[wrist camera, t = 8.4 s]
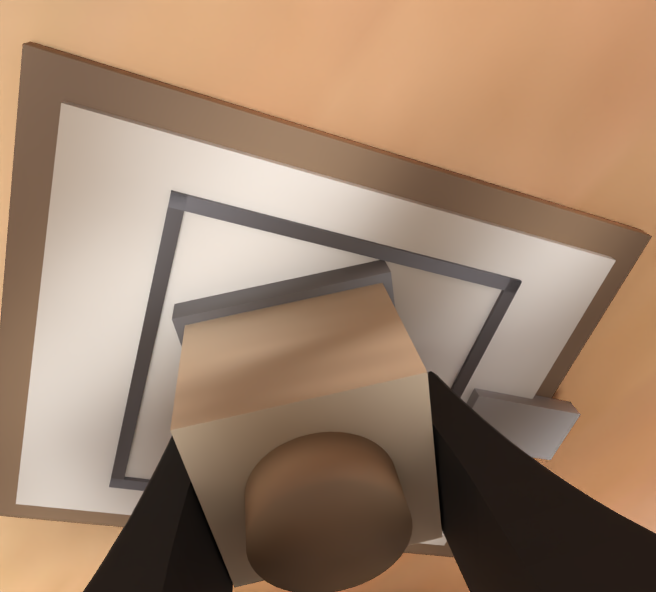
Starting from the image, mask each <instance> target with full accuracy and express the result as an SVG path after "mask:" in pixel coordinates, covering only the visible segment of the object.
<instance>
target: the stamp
mask: <svg viewBox="0 0 656 592" xmlns="http://www.w3.org/2000/svg"><path fill="white" fill-rule="evenodd" d="M172 321H173V324H174V327H175V330H176V332H177V335H178V338H179V341H180V344H181V346H182V349H181V356H180V363H179V370H178V378H177V385H176V392H175V399H174V406H173V413H172V421H171V428H170V431H171V434H172V436H173V439H174V441H175V443H176V446H177V448H178V451H179V453H180V456H181V458H182V460H183V463H184V465H185V468H186V470H187V473H188V475H189V477H190V480H191V482H192V485H193V487H194V490H195V492H196V495H197V497H198V499H199V502H200V504H201V507H202V509H203V512H204V514H205V516H206V519H207V521H208V524H209V526H210V529H211V531H212V533H213V536H214V538H215V541H216V543H217V546H218V548H219V551H220V553H221V555H222V558H223V560H224V563H225V565H226V568H227V570H228V572H229V575H230V577H231V580H232V582H233V585H234V587H239V586H243V585H247V584H251V583H255V582H259V581H263V580H265V581H266V582H268V583H270V584H272V585H274V586H276V587H278V588H281V589H284V590H288V591H292V592H336V591H341V590H345V589H348V588H352V587H355V586H358V585H360V584H363V583H365V582H367V581H369V580H371V579H373V578H375V577H376V576H378V575H380V574H381V573H383V572H384V571H386V570H387V569H388V568H389V567H391V566H392V565H393V564H394V563H395V562H396V561H397V560H398V559H399V558H400V556H401V555H402V554H403V552H404V551H405V549H406V547H407V546H409V545H413V544H417V543H421V542H425V541H429V540H434V539H438V538H442V529H441V518H440V506H439V495H438V484H437V473H436V462H435V451H434V439H433V428H432V417H431V406H430V395H429V383H428V372H427V370H426V368H425V366H424V364H423V362H422V360H421V358H420V356H419V354H418V352H417V350H416V348H415V346H414V345H413V343H412V341H411V339H410V337H409V335H408V333H407V331H406V329H405V327H404V325H403V323H402V321H401V319H400V317H399V315H398V313H397V311H396V309H395V302H394V293H393V285H392V276H391V271H390V269H389V267H388V266H387V264H386V262H385V261H383V260H377V261H373V262H368V263H363V264H359V265H354V266H349V267H345V268H340V269H335V270H331V271H326V272H321V273H317V274H312V275H307V276H303V277H298V278H293V279H289V280H284V281H279V282H275V283H270V284H265V285H261V286H256V287H251V288H247V289H242V290H237V291H233V292H228V293H223V294H219V295H214V296H209V297H205V298H200V299H195V300H191V301H186V302H181V303H177V304H174V309H173V315H172Z"/></svg>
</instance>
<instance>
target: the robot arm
mask: <svg viewBox="0 0 656 592" xmlns="http://www.w3.org/2000/svg"><path fill="white" fill-rule="evenodd" d="M428 383H429V395H430V406H431V417H432V428H433V439H434V451H435V462H436V473H437V484H438V495H439V506H440V518H441V529H442V532H443V534H444V536H445V538H446V540H447V542H448V545H449V547H450V549H451V551H452V553H453V555H454V558H455V560H456V562H457V564H458V566H459V569H460V571H461V573H462V575H463V577H464V579H465V582H466V584H467V586H468V588H469V590H470V592H656V534H655V533H654V532H652V531H650V530H648V529H646V528H644V527H642V526H640V525H638V524H637V523H635V522H633V521H631V520H629V519H627V518H625V517H623V516H621V515H620V514H618V513H616V512H614V511H613V510H611V509H609V508H608V507H606V506H604V505H603V504H601V503H599V502H598V501H596V500H594V499H593V498H591V497H589V496H588V495H586V494H585V493H583V492H582V491H580V490H578V489H577V488H575V487H574V486H572V485H571V484H569V483H567V482H566V481H564V480H563V479H562V478H560V477H559V476H557V475H556V474H554V473H553V472H551V471H550V470H548V469H547V468H546V467H544V466H543V465H541V464H540V463H539V462H537V461H536V460H535V459H533V458H532V457H531V456H529V455H528V454H527V453H525V452H524V451H523V450H521V449H520V448H519V447H517V446H516V445H515V444H514V443H512V442H511V441H510V440H508V439H507V438H506V437H505V436H504V435H502V434H501V433H500V432H499V431H498V430H496V429H495V428H494V427H493V426H492V425H490V424H489V423H488V422H487V421H486V420H484V419H483V418H482V417H481V416H480V415H479V414H478V413H476V412H475V411H474V410H473V409H472V408H471V407H470V406H469V405H468V404H467V403H465V402H464V401H463V400H462V399H461V398H460V397H459V396H458V395H457V394H456V393H455V392H454V391H453V390H452V389H451V388H450V387H449V386H448V385H447V384H446V383H445V382H444V381H443V380H442V379H441V378H440V377H439V376H438V375H437V374H435V373H433V372H432V371H430V372H428ZM232 590H233V582H232V580H231V577H230V575H229V572H228V570H227V568H226V565H225V563H224V560H223V558H222V555H221V553H220V551H219V548H218V546H217V543H216V541H215V538H214V536H213V533H212V531H211V529H210V526H209V524H208V521H207V519H206V516H205V514H204V512H203V509H202V507H201V504H200V502H199V499H198V497H197V495H196V492H195V490H194V487H193V485H192V482H191V480H190V477H189V475H188V473H187V470H186V468H185V465H184V463H183V460H182V458H181V456H180V453H179V451H178V448H177V446H176V443H175V441H174V439H173V436H171V438H170V440H169V443H168V445H167V447H166V449H165V451H164V453H163V455H162V457H161V459H160V461H159V463H158V465H157V467H156V469H155V471H154V473H153V475H152V477H151V479H150V481H149V483H148V484H147V486H146V488H145V490H144V492H143V494H142V496H141V497H140V499H139V501H138V503H137V505H136V507H135V508H134V510H133V512H132V514H131V516H130V517H129V519H128V521H127V523H126V524H125V526H124V528H123V530H122V531H121V533H120V534H119V536H118V538H117V539H116V541H115V543H114V544H113V546H112V548H111V549H110V551H109V552H108V554H107V556H106V557H105V559H104V561H103V562H102V564H101V565H100V567H99V569H98V570H97V572H96V573H95V575H94V576H93V578H92V579H91V581H90V582H89V584H88V585H87V587H86V588H85V590H84V591H83V592H232Z"/></svg>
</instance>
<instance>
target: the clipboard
mask: <svg viewBox="0 0 656 592" xmlns="http://www.w3.org/2000/svg"><path fill="white" fill-rule="evenodd" d="M651 237H652V236H650V235H649V234H647V233H645V232H644V231H642V230H640V229H637V228H634V227H630V226H627V225H624V224H621V223H617V222H614V221H611V220H608V219H604V218H601V217H598V216H595V215H591V214H588V213H585V212H582V211H578V210H575V209H572V208H569V207H565V206H562V205H559V204H556V203H552V202H549V201H546V200H543V199H539V198H536V197H533V196H530V195H526V194H523V193H520V192H517V191H513V190H510V189H507V188H504V187H500V186H497V185H494V184H491V183H487V182H484V181H481V180H478V179H474V178H471V177H468V176H465V175H462V174H458V173H455V172H452V171H449V170H445V169H442V168H439V167H436V166H432V165H429V164H426V163H423V162H419V161H416V160H413V159H410V158H406V157H403V156H400V155H397V154H393V153H390V152H387V151H384V150H380V149H377V148H374V147H371V146H367V145H364V144H361V143H358V142H354V141H351V140H348V139H345V138H341V137H338V136H335V135H332V134H328V133H325V132H322V131H319V130H315V129H312V128H309V127H306V126H302V125H299V124H296V123H293V122H290V121H286V120H283V119H280V118H277V117H273V116H270V115H267V114H264V113H260V112H257V111H254V110H251V109H247V108H244V107H241V106H238V105H234V104H231V103H228V102H225V101H221V100H218V99H215V98H212V97H208V96H205V95H202V94H199V93H195V92H192V91H189V90H186V89H182V88H179V87H176V86H173V85H169V84H166V83H163V82H160V81H156V80H153V79H150V78H147V77H143V76H140V75H137V74H134V73H131V72H127V71H124V70H121V69H118V68H114V67H111V66H108V65H105V64H101V63H98V62H95V61H92V60H88V59H85V58H82V57H79V56H75V55H72V54H69V53H66V52H62V51H59V50H56V49H53V48H49V47H46V46H43V45H40V44H36V43H33V42H28V43H24V44H23V49H22V61H21V74H20V86H19V98H18V111H17V123H16V135H15V148H14V160H13V172H12V185H11V197H10V209H9V222H8V234H7V246H6V259H5V271H4V284H3V296H2V308H1V321H0V516H8V517H19V518H30V519H41V520H52V521H63V522H74V523H85V524H96V525H107V526H118V527H124V526H125V524H126V523H127V521H128V519H129V517H130V516H131V514H132V512H133V510H134V508H135V507H136V505H137V503H138V501H139V499H140V497H141V496H142V494H143V492H144V490H145V488H146V486H147V484H148V483H149V481H150V479H151V477H152V475H153V473H154V471H155V469H156V467H157V465H158V463H159V461H160V459H161V457H162V455H163V453H164V451H165V449H166V447H167V445H168V443H169V440H170V438H171V436H172V434H171V431H170V428H171V421H172V413H173V406H174V399H175V392H176V385H177V378H178V370H179V363H180V356H181V349H182V346H181V344H180V341H179V338H178V335H177V332H176V330H175V327H174V324H173V321H172V315H173V309H174V304H177V303H181V302H186V301H191V300H195V299H200V298H205V297H209V296H214V295H219V294H223V293H228V292H233V291H237V290H242V289H247V288H251V287H256V286H261V285H265V284H270V283H275V282H279V281H284V280H289V279H293V278H298V277H303V276H307V275H312V274H317V273H321V272H326V271H331V270H335V269H340V268H345V267H349V266H354V265H359V264H363V263H368V262H373V261H377V260H383V261H385V262H386V264H387V266H388V267H389V269H390V271H391V276H392V285H393V293H394V302H395V309H396V311H397V313H398V315H399V317H400V319H401V321H402V323H403V325H404V327H405V329H406V331H407V333H408V335H409V337H410V339H411V341H412V343H413V345H414V346H415V348H416V350H417V352H418V354H419V356H420V358H421V360H422V362H423V364H424V366H425V368H426V370H427V372H430V371H432V372H433V373H435V374H437V375H438V376H439V377H440V378H441V379H442V380H443V381H444V382H445V383H446V384H447V385H448V386H449V387H450V388H451V389H452V390H453V391H454V392H455V393H456V394H457V395H458V396H459V397H460V398H461V399H462V400H463V401H464V402H465V403H467V404H468V405H469V406H470V407H471V408H472V409H473V410H474V411H475V412H476V413H478V414H479V415H480V416H481V417H482V418H483V419H484V420H486V421H487V422H488V423H489V424H490V425H492V426H493V427H494V428H495V429H496V430H498V431H499V432H500V433H501V434H502V435H504V436H505V437H506V438H507V439H508V440H510V441H511V442H512V443H514V444H515V445H516V446H517V447H519V448H520V449H521V450H523V451H524V452H525V453H527V454H528V455H529V456H531V457H533V458H540V459H546V460H551V459H552V457H553V456H554V454H555V452H556V451H557V449H558V448H559V446H560V445H561V443H562V442H563V440H564V439H565V437H566V436H567V434H568V433H569V431H570V430H571V428H572V427H573V425H574V424H575V422H576V421H577V419H578V418H579V416H580V415H581V414H580V413H579V412H578V411H577V410H576V408H575V407H574V406H573V405H572V403H571V402H568V401H563V400H558V399H552V397H553V395H554V393H555V392H556V390H557V389H558V387H559V385H560V384H561V382H562V380H563V379H564V377H565V376H566V374H567V372H568V371H569V369H570V368H571V366H572V364H573V363H574V361H575V360H576V358H577V356H578V355H579V353H580V351H581V350H582V348H583V347H584V345H585V343H586V342H587V340H588V339H589V337H590V335H591V334H592V332H593V331H594V329H595V327H596V326H597V324H598V322H599V321H600V319H601V318H602V316H603V314H604V313H605V311H606V310H607V308H608V306H609V305H610V303H611V301H612V300H613V298H614V297H615V295H616V293H617V292H618V290H619V289H620V287H621V285H622V284H623V282H624V281H625V279H626V277H627V276H628V274H629V272H630V271H631V269H632V268H633V266H634V264H635V263H636V261H637V260H638V258H639V256H640V255H641V253H642V252H643V250H644V248H645V247H646V245H647V243H648V242H649V240H650V239H651ZM403 553H414V554H425V555H436V556H447V557H453V556H454V555H453V553H452V551H451V549H450V547H449V545H448V542H447V540H446V538H445V536H444V534H443V532H442V538H438V539H434V540H429V541H425V542H421V543H417V544H413V545H409V546H407V547H406V549H405V551H404V552H403Z"/></svg>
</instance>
